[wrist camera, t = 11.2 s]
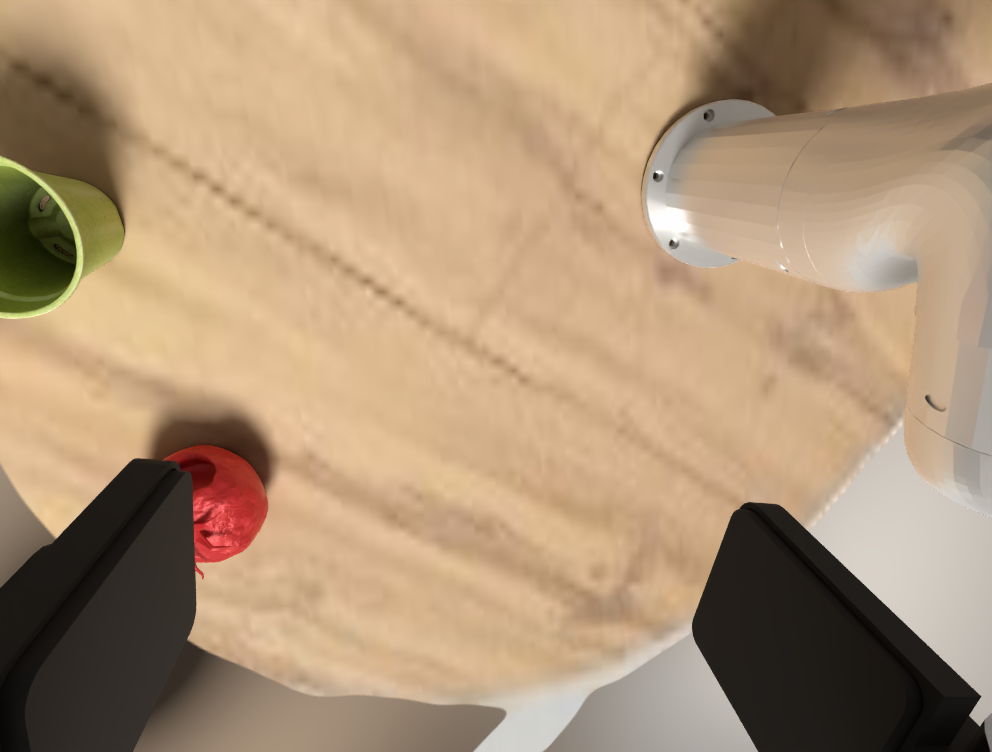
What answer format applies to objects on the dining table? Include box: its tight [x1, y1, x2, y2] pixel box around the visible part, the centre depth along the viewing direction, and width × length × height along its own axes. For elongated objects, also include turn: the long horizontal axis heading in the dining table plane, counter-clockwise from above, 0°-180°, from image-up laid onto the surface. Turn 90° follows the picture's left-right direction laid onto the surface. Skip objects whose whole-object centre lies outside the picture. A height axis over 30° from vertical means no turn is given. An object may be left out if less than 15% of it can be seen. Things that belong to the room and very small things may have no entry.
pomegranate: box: [164, 445, 268, 579], centre depth 44 cm, size 10×10×9 cm
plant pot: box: [0, 155, 124, 319], centre depth 35 cm, size 9×9×9 cm
